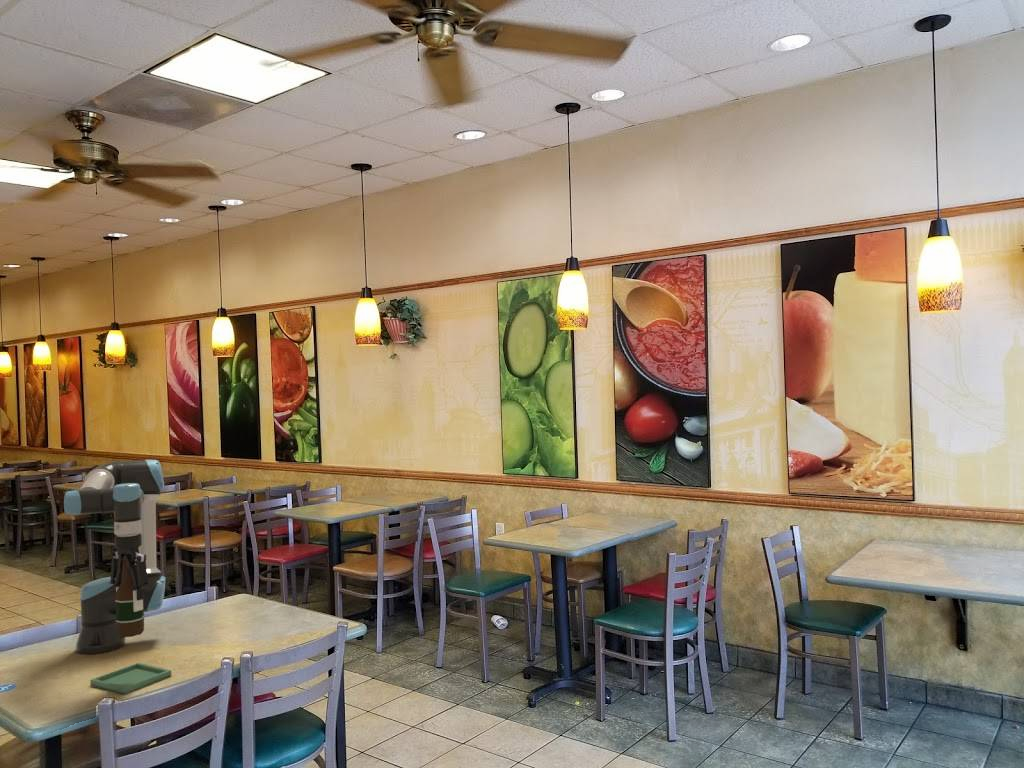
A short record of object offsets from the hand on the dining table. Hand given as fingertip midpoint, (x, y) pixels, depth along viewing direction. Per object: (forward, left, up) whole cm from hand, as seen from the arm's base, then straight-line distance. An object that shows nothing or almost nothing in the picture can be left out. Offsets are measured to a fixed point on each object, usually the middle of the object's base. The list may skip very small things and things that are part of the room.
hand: (129, 608), depth 238 cm
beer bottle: (0, 0, -8) cm, 8 cm away
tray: (0, 0, -22) cm, 22 cm away
